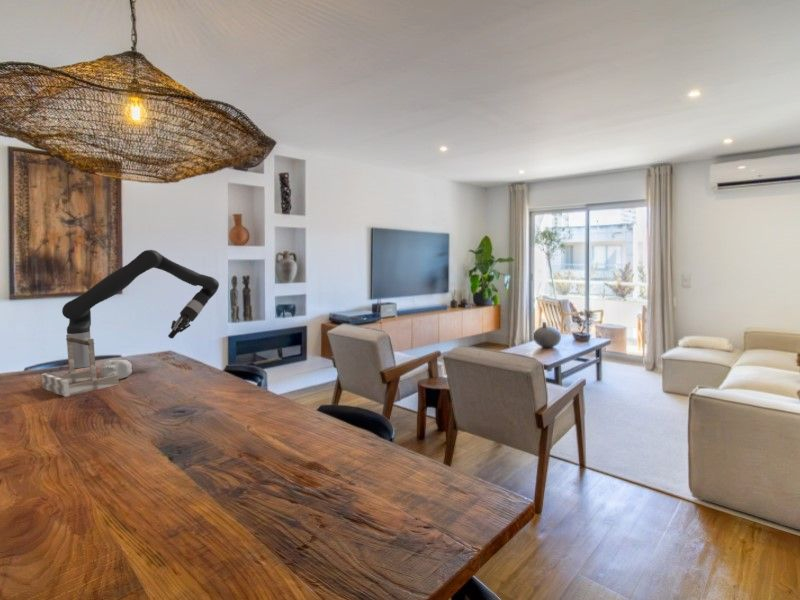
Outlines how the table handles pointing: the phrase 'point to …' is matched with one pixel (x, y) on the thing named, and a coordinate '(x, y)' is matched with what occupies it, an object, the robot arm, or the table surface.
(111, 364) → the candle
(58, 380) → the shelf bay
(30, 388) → the table surface
